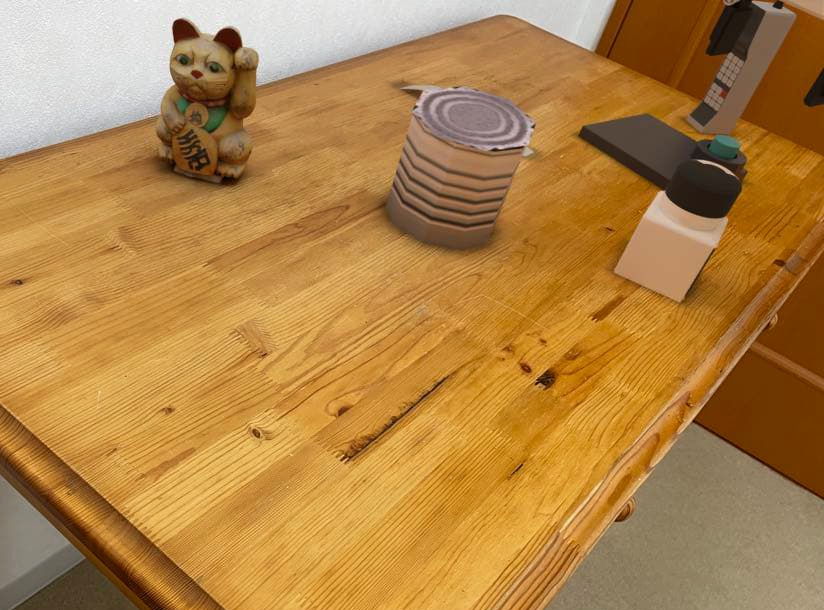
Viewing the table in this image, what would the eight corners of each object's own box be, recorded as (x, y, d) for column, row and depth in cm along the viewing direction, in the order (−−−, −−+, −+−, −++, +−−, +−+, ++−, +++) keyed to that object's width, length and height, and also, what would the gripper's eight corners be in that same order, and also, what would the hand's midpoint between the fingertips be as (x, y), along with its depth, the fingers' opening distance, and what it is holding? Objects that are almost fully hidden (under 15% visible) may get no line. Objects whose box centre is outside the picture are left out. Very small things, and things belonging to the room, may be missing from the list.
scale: (741, 184, 107) (756, 159, 105) (677, 203, 100) (692, 176, 98) (641, 126, 116) (653, 101, 113) (576, 139, 109) (587, 113, 106)
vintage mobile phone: (684, 123, 119) (786, -72, 102) (712, 125, 121) (818, -67, 104) (699, 136, 117) (806, -62, 100) (728, 137, 118) (838, -57, 101)
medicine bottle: (679, 307, 83) (746, 199, 75) (611, 275, 85) (668, 168, 77) (694, 276, 88) (757, 172, 80) (628, 248, 90) (684, 143, 82)
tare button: (738, 158, 105) (746, 145, 104) (724, 162, 104) (732, 148, 102) (717, 146, 107) (724, 133, 106) (703, 149, 105) (710, 136, 104)
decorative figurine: (146, 176, 83) (157, 20, 73) (164, 139, 90) (176, -9, 79) (242, 197, 84) (266, 44, 74) (253, 158, 90) (277, 13, 80)
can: (514, 245, 86) (560, 136, 78) (426, 262, 81) (466, 146, 73) (447, 187, 93) (484, 81, 85) (363, 199, 88) (393, 87, 79)
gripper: (1040, -114, 58) (877, 120, 70) (816, -184, 67) (704, 34, 79) (1000, -118, 54) (834, 130, 66) (768, -191, 64) (658, 38, 75)
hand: (763, 78), depth 73 cm, fingers open, 9 cm apart
